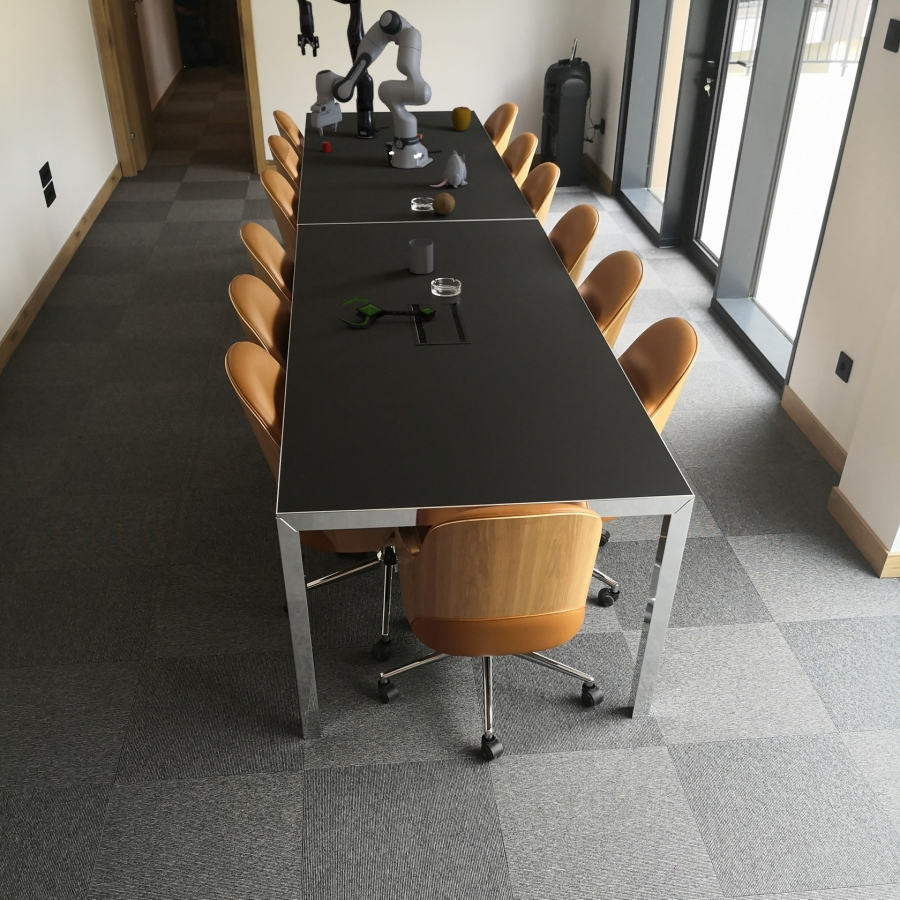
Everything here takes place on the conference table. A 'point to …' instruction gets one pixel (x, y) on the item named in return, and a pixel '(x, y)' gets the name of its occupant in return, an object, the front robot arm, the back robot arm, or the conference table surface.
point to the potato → (443, 203)
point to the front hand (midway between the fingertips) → (328, 133)
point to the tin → (326, 146)
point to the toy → (454, 171)
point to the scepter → (383, 312)
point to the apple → (461, 118)
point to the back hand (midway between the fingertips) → (309, 56)
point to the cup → (421, 256)
